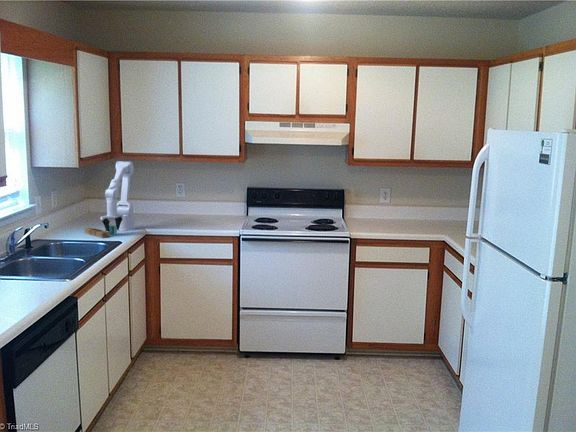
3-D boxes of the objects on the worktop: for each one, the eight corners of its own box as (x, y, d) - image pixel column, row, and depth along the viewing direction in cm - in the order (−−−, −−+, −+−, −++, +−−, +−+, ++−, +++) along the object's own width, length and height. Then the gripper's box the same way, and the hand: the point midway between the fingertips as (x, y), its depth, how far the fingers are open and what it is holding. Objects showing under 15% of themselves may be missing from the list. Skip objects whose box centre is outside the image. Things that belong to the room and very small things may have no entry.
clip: (108, 234, 321) (107, 224, 320) (111, 233, 323) (110, 224, 322) (114, 235, 317) (113, 226, 316) (117, 235, 319) (116, 225, 318)
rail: (91, 231, 326) (91, 227, 326) (109, 236, 314) (109, 232, 314) (84, 233, 323) (84, 228, 322) (102, 238, 310) (102, 233, 310)
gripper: (104, 210, 309) (105, 232, 311) (126, 208, 320) (126, 229, 323) (98, 208, 314) (99, 231, 316) (119, 206, 325) (120, 228, 327)
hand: (112, 230), depth 320 cm, fingers open, 6 cm apart
